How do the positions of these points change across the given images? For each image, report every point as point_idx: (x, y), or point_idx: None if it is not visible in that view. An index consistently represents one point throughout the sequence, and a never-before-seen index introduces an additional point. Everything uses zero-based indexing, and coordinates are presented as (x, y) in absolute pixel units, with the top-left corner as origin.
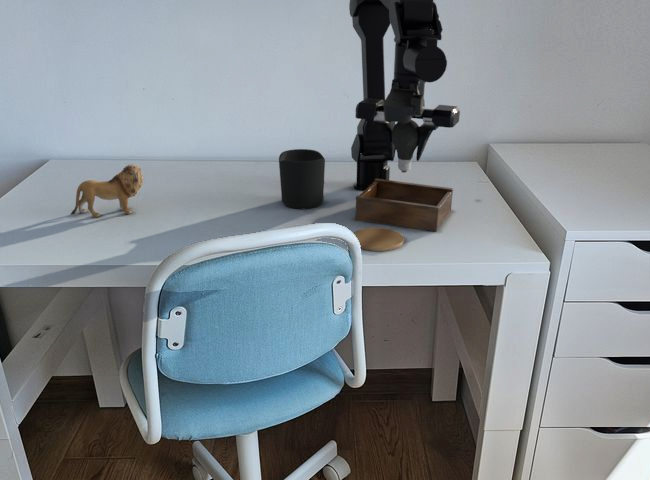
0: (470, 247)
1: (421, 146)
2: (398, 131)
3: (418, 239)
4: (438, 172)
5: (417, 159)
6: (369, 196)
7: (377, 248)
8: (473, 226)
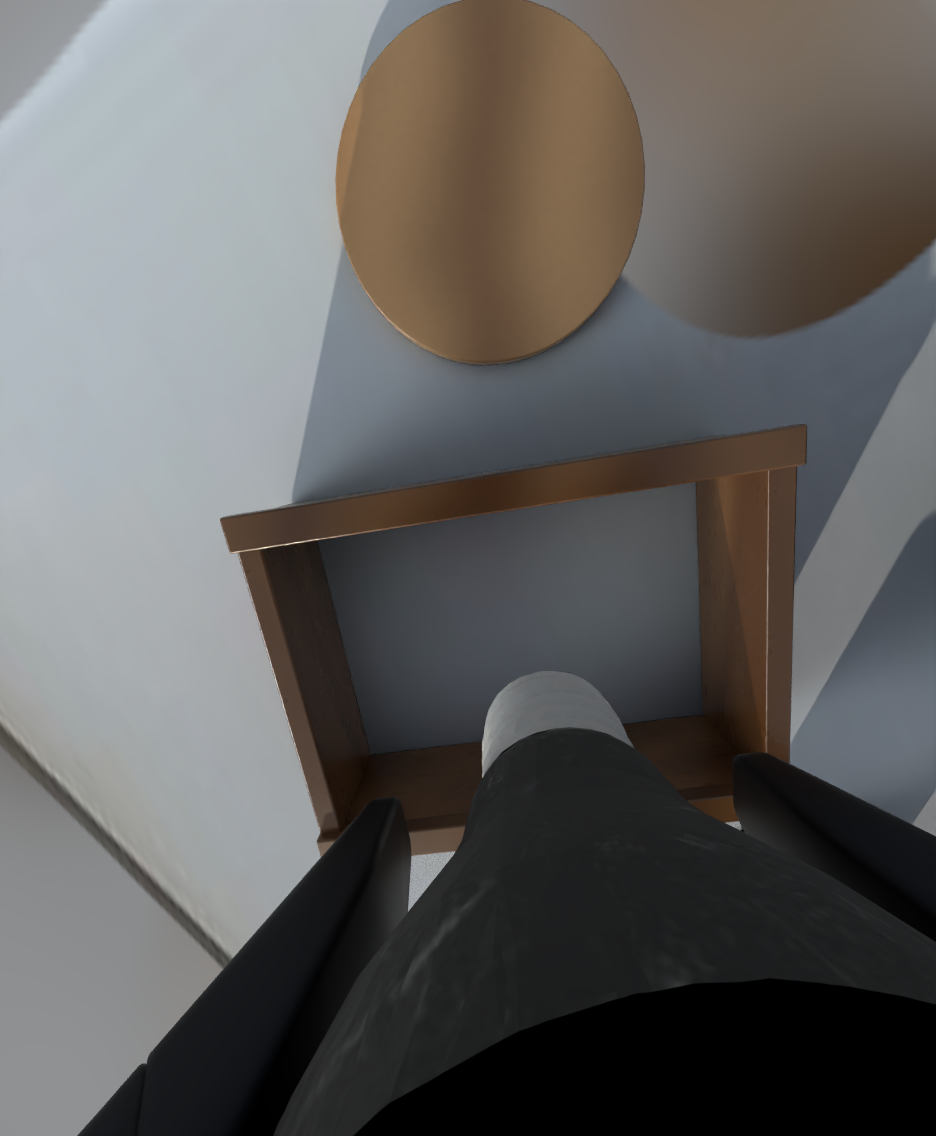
0: (61, 402)
1: (214, 1010)
2: None
3: (312, 358)
4: None
5: (381, 806)
6: (740, 620)
7: (411, 26)
8: (189, 654)
